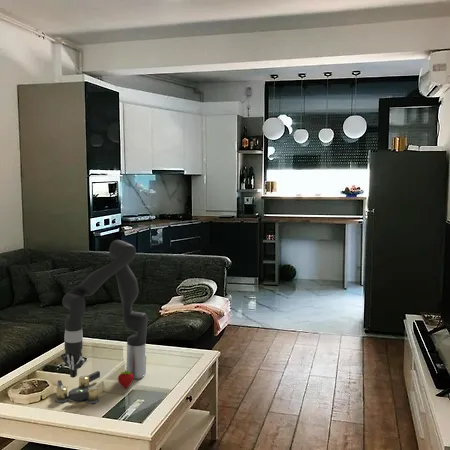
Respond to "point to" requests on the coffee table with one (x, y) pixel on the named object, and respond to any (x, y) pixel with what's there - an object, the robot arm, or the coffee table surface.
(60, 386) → the foot screw
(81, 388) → the levelling base
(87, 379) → the footscrew back
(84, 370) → the coffee table surface
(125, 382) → the strawberry
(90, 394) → the foot screw
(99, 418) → the coffee table surface
